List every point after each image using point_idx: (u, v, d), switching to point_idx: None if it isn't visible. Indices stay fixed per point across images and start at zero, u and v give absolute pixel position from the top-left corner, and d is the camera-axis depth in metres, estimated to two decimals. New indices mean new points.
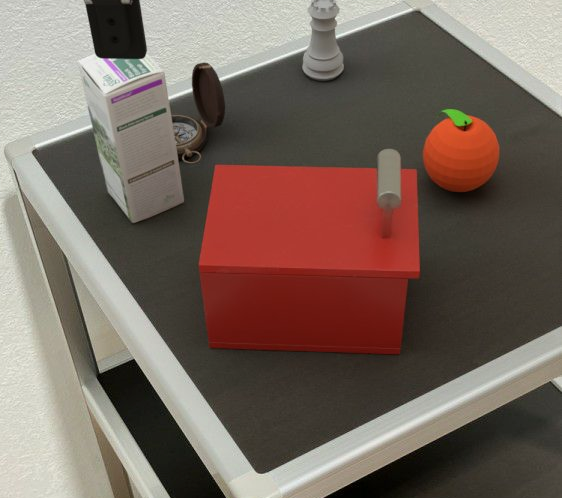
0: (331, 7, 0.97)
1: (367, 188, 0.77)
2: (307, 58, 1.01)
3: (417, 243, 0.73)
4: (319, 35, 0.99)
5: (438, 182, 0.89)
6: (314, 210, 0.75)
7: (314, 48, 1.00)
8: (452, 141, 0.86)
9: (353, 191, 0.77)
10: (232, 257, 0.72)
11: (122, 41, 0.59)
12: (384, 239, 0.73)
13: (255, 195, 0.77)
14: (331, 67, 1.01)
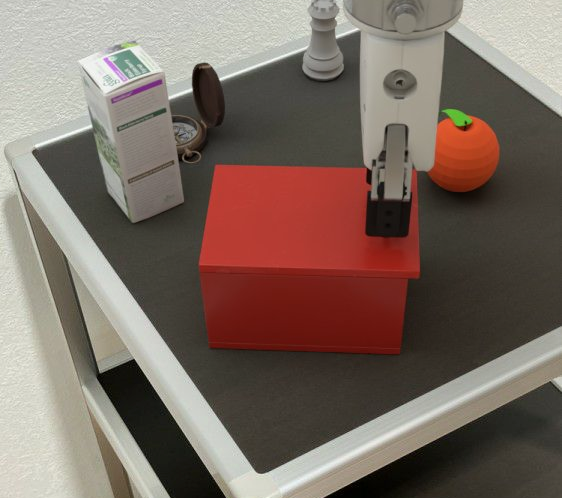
0: (331, 7, 0.97)
1: (367, 188, 0.77)
2: (307, 58, 1.01)
3: (417, 243, 0.73)
4: (319, 35, 0.99)
5: (438, 182, 0.89)
6: (314, 210, 0.75)
7: (314, 48, 1.00)
8: (452, 141, 0.86)
9: (353, 191, 0.77)
10: (232, 257, 0.72)
11: (394, 227, 0.70)
12: (384, 239, 0.73)
13: (255, 195, 0.77)
14: (331, 67, 1.01)
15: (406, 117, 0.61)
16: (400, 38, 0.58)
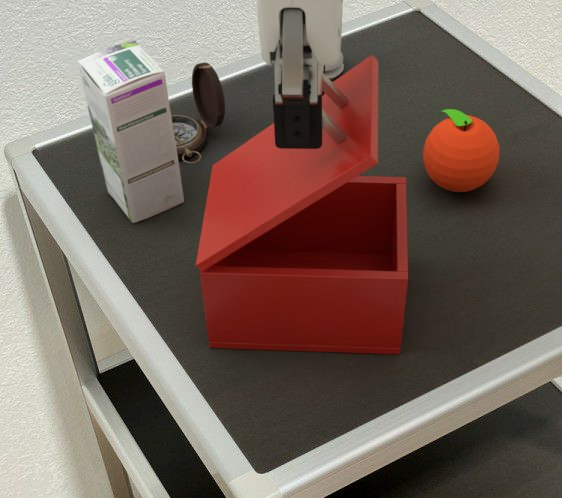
0: None
1: (328, 103, 0.71)
2: None
3: (369, 129, 0.65)
4: None
5: (438, 182, 0.89)
6: (284, 155, 0.71)
7: None
8: (452, 141, 0.86)
9: None
10: (219, 243, 0.71)
11: (304, 135, 0.64)
12: (340, 144, 0.66)
13: (239, 173, 0.75)
14: (331, 67, 1.01)
15: None
16: None
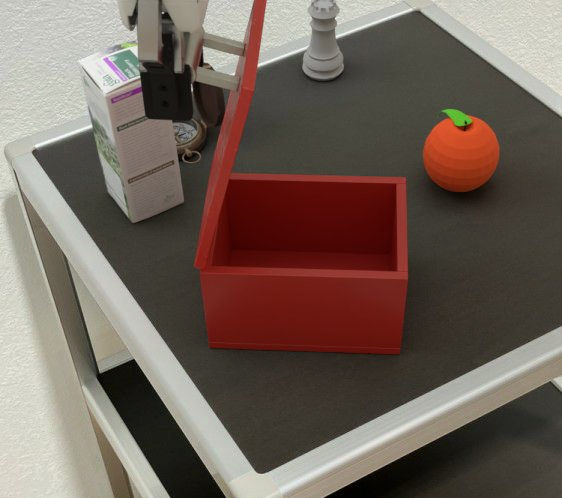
0: (331, 7, 0.97)
1: None
2: (307, 58, 1.01)
3: (245, 62, 0.62)
4: (319, 35, 0.99)
5: (438, 182, 0.89)
6: (225, 126, 0.70)
7: (314, 48, 1.00)
8: (452, 141, 0.86)
9: (237, 73, 0.69)
10: (201, 236, 0.71)
11: (172, 105, 0.63)
12: (237, 90, 0.64)
13: (214, 163, 0.74)
14: (331, 67, 1.01)
15: None
16: None
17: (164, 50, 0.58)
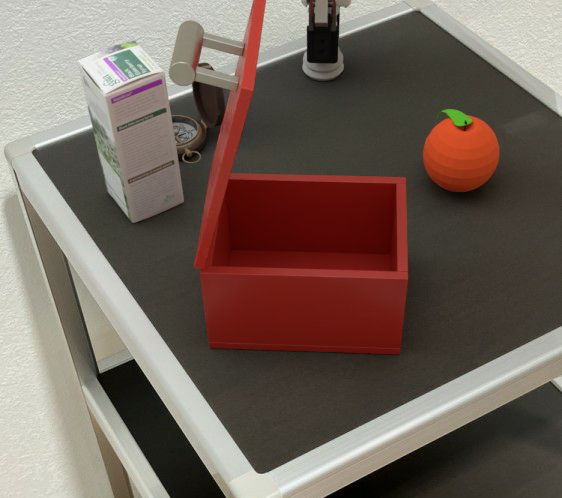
0: None
1: (240, 57, 0.68)
2: None
3: (244, 61, 0.62)
4: None
5: (438, 182, 0.89)
6: (225, 126, 0.70)
7: None
8: (452, 141, 0.86)
9: (236, 73, 0.69)
10: (201, 236, 0.71)
11: (326, 53, 0.98)
12: (236, 90, 0.64)
13: (214, 163, 0.74)
14: (331, 67, 1.01)
15: None
16: None
17: (328, 15, 0.93)
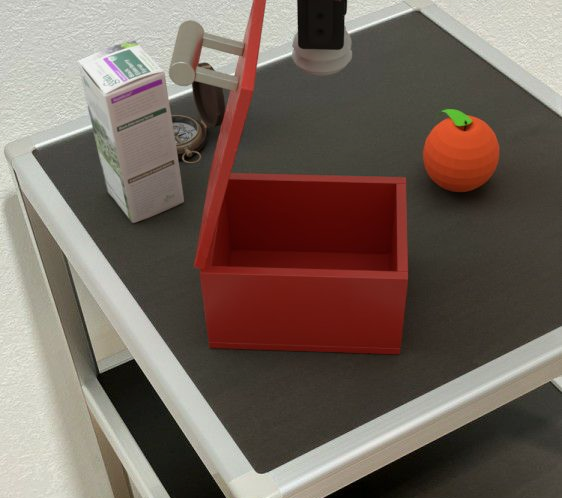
0: None
1: (240, 57, 0.68)
2: None
3: (244, 61, 0.62)
4: None
5: (438, 182, 0.89)
6: (225, 126, 0.70)
7: None
8: (452, 141, 0.86)
9: (236, 73, 0.69)
10: (201, 236, 0.71)
11: (326, 33, 0.66)
12: (236, 90, 0.64)
13: (214, 163, 0.74)
14: (333, 56, 0.69)
15: None
16: None
17: None
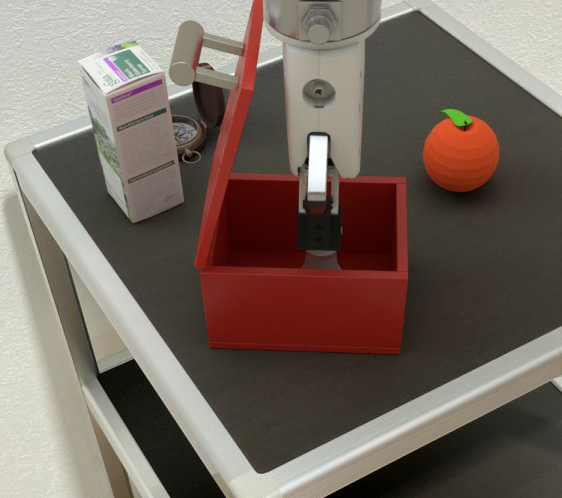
0: None
1: (240, 57, 0.68)
2: None
3: (244, 61, 0.62)
4: (317, 259, 0.77)
5: (438, 182, 0.89)
6: (225, 126, 0.70)
7: None
8: (452, 141, 0.86)
9: (236, 73, 0.69)
10: (201, 236, 0.71)
11: (324, 240, 0.69)
12: (236, 90, 0.64)
13: (214, 163, 0.74)
14: None
15: (327, 125, 0.62)
16: (316, 48, 0.59)
17: (326, 200, 0.64)
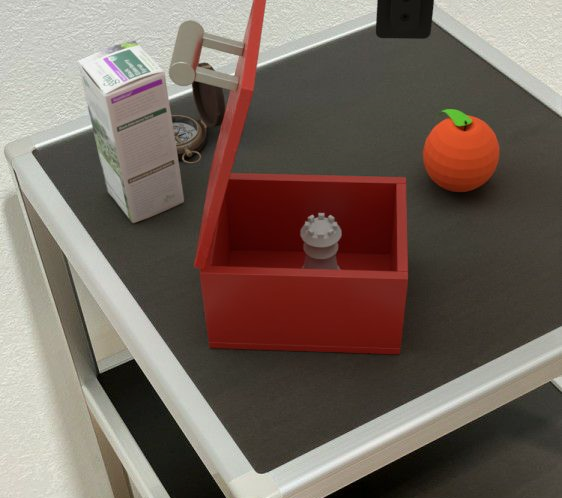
0: (331, 233, 0.75)
1: (240, 57, 0.68)
2: None
3: (244, 61, 0.62)
4: (316, 262, 0.77)
5: (438, 182, 0.89)
6: (225, 126, 0.70)
7: None
8: (452, 141, 0.86)
9: (236, 73, 0.69)
10: (201, 236, 0.71)
11: (412, 19, 0.55)
12: (236, 90, 0.64)
13: (214, 163, 0.74)
14: None
15: None
16: None
17: None
